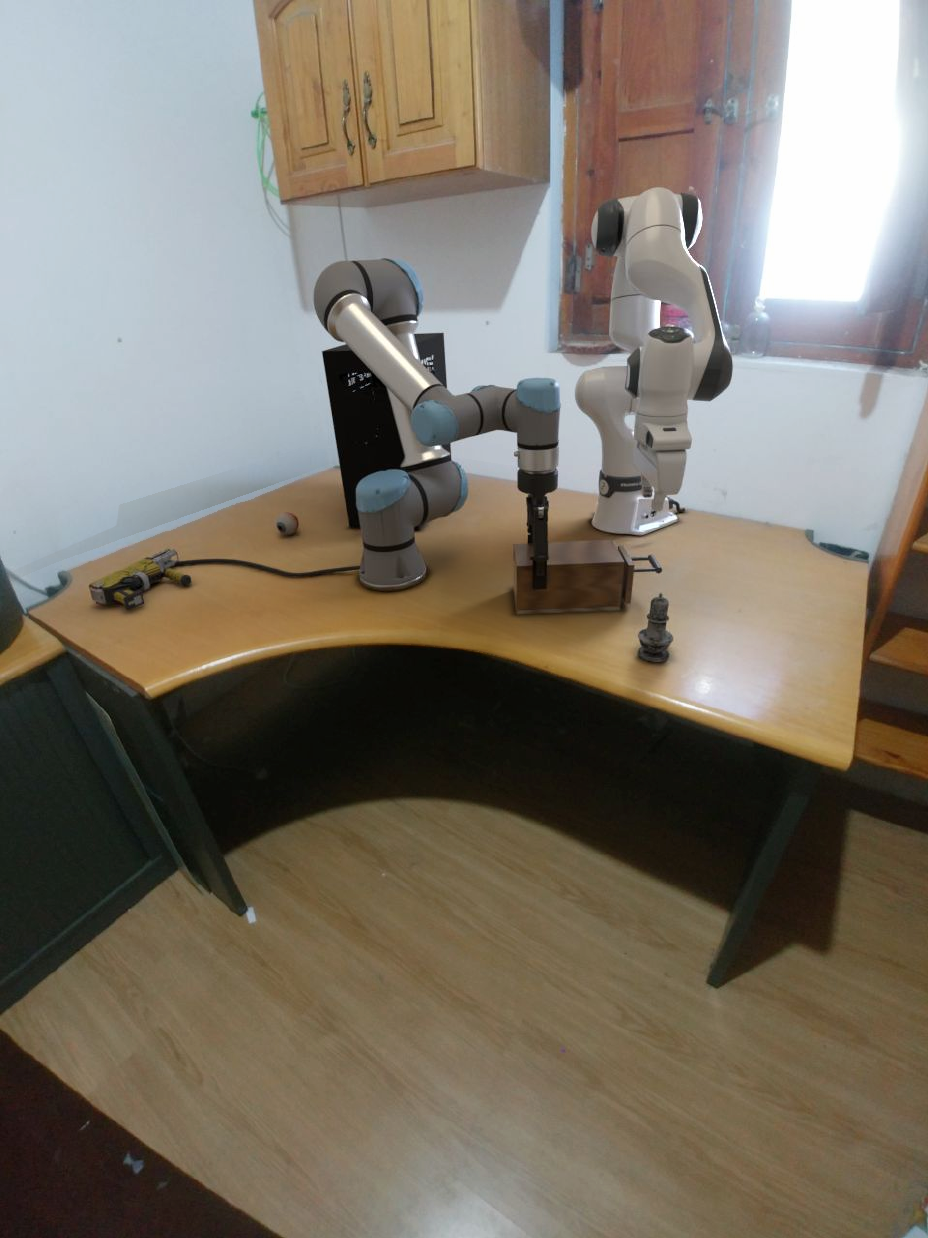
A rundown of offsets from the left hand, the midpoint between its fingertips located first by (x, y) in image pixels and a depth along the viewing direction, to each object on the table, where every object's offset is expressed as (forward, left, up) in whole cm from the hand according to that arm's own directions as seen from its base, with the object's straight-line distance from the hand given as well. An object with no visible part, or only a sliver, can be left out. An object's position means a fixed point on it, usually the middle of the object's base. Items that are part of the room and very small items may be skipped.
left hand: (536, 575), depth 122 cm
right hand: (+20, +8, +14) cm, 26 cm away
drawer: (+11, +4, -5) cm, 13 cm away
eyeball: (-75, +18, -6) cm, 77 cm away
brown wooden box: (+5, +2, -6) cm, 8 cm away
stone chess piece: (+25, -14, -6) cm, 29 cm away
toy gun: (-86, -18, -6) cm, 88 cm away
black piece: (-53, +46, -6) cm, 71 cm away
